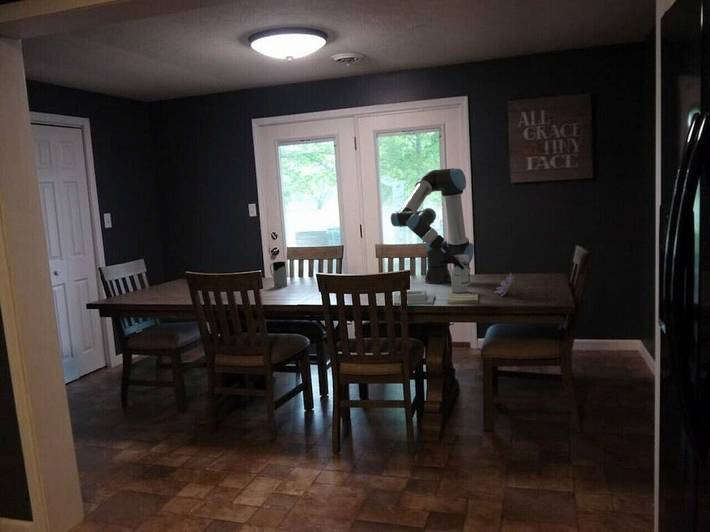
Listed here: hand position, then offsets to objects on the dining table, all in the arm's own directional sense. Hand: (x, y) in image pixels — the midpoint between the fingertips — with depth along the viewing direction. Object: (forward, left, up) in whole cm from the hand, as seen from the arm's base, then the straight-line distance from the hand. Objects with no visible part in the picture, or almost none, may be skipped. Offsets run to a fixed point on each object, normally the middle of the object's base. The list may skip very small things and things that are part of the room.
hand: (468, 272), depth 282 cm
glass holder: (-55, -115, -14) cm, 129 cm away
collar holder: (0, -27, -14) cm, 30 cm away
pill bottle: (-21, -5, -14) cm, 26 cm away
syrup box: (0, -4, -6) cm, 7 cm away
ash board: (0, -3, -14) cm, 14 cm away
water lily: (-11, +17, -14) cm, 24 cm away
